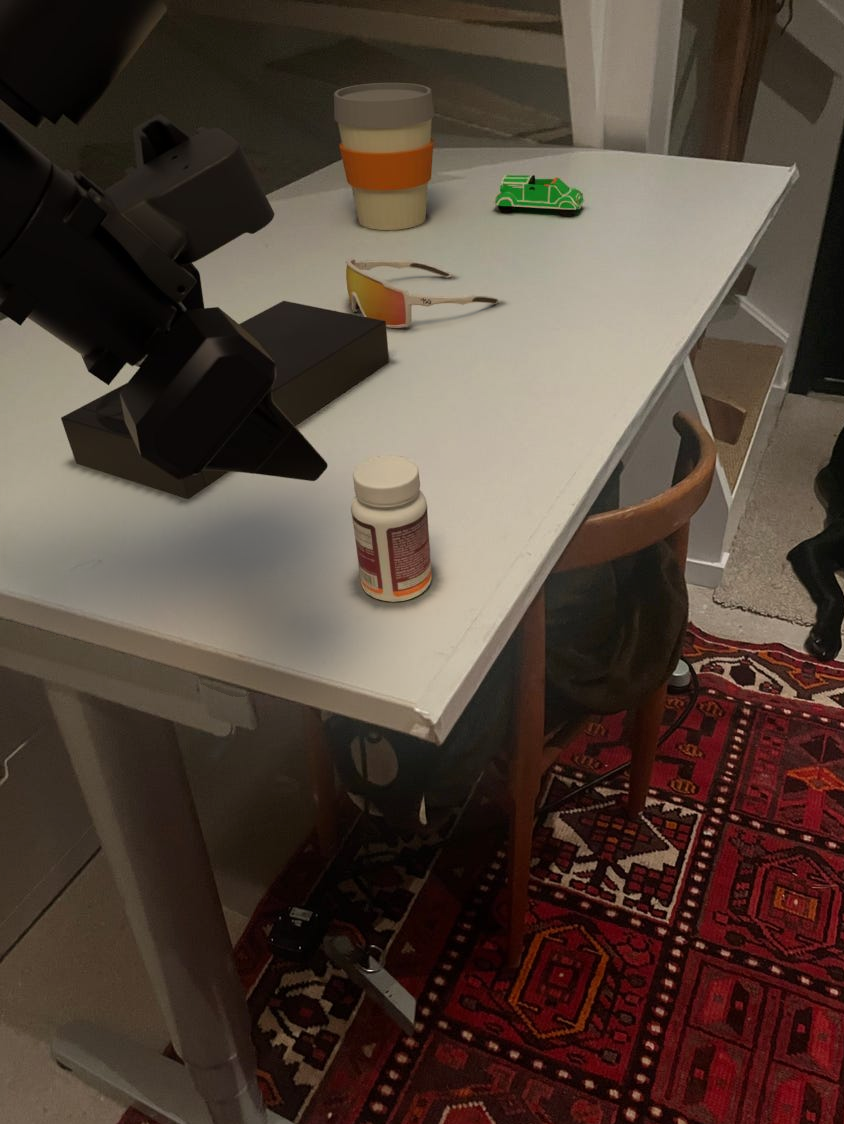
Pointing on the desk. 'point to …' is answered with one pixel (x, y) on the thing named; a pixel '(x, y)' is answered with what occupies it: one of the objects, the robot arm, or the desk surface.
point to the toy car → (537, 194)
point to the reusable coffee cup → (386, 151)
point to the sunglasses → (393, 293)
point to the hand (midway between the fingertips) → (291, 433)
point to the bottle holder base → (299, 389)
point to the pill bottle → (391, 528)
